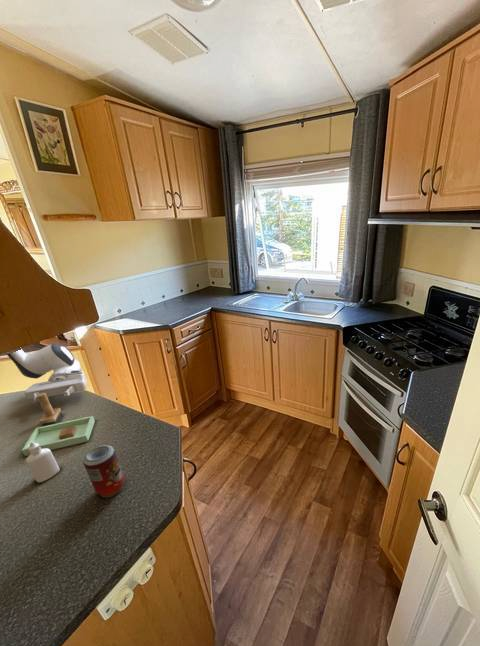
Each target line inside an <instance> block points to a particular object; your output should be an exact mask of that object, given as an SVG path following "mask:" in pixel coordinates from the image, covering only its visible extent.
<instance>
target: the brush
mask: <svg viewBox="0 0 480 646" xmlns="http://www.w3.org/2000/svg"><path fill="white" fill-rule="evenodd" d="M37 398H38V400H39V401H38V402H39V404H40V407H41V409H42V411H43V413H44V414H43V415H42V417H41V418H40V419H39V424H40V425H42V427H43V426H48V425H53V424H57V423H60V420H61V418H62V417H63V413H62V409H61V407H56V408H53V407H52V404H51V402H50V399H49V396H48V397H47V395H46V393H40V394H38V395H37Z"/></svg>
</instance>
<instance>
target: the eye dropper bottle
mask: <svg viewBox="0 0 480 646" xmlns="http://www.w3.org/2000/svg"><path fill="white" fill-rule="evenodd" d="M28 450H29V452H30V453H31V455H27V457H26V459H25V463H26V465H27V467H28V469H29V471H30V473H31V474H32V476H33V478H34V480H35V481H36V482H37V483H43V482H45V481H47V480H49V479H51V478H52V477H54V476H55V475H57V474H58V473H59V472H60V470H61V469H60V466H59V464H58V463H57V460H56V458H55V456H54V454H53V451H52V450H49V449H48V448H44V449H41V447H40V445H39V444H38V443H34V442H33V441H31V442H30V446H29V447H28Z"/></svg>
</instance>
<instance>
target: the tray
mask: <svg viewBox="0 0 480 646" xmlns="http://www.w3.org/2000/svg"><path fill="white" fill-rule="evenodd" d="M95 422H96V421H95V417H94V415H91V416H85V417H81V418H77V419H72V420H67V421H62V422H58V423H57V424H53V425H48V426H43V425H42V426H38V427H35V428H34V430H33V431H32V433H31V435H30V437H28V439H27V441H26V442H25V444H24V446H23V448H22V449H21V451H22V453H23V455H24V457H26V456H27V457H28V456H30V455H31V453H30V452H29V450H28V447H29V446H30V442H31V441H33V442H34V443H38V444H39V445H40V447H41V449H44V448H48V449H49V450H51V451H52V450H57V449H61V448H65V447H69V446H74V445H78V444H83V443H86V442H89V440H90V437H91V434H92V432H93V428H94V425H95ZM73 426H76V429H77V430H76V433H75V435H74V437H69V438H65V439H61V440H60V438H59V434H60V432H61V430H62V429H64V428H69V427H73Z"/></svg>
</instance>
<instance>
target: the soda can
mask: <svg viewBox="0 0 480 646" xmlns="http://www.w3.org/2000/svg"><path fill="white" fill-rule="evenodd" d="M82 464H83V466H84V468H85V470H86V472H87V475H88V478H89V480H90V482H91V484H92V487H93V490H94V491H95V493H96V494H98V495H100V496H101V497H102V498H111V497H114V496H115V495H117V494H119V492H121V491H122V489H123V488H124V483H125V475H124V473H123V472H124V471H123V469H122V467H121V464H120V461H119V459H118V456H117V453H116V450H115V448H114V447H113V446H112V445H108V444H104V445H103V444H102V445H100V446H98V445H97V446H96V447H94V448H92V449H90V450H89V451H88V452H87V453H86V454H85V455H84V456H83V458H82Z"/></svg>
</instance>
